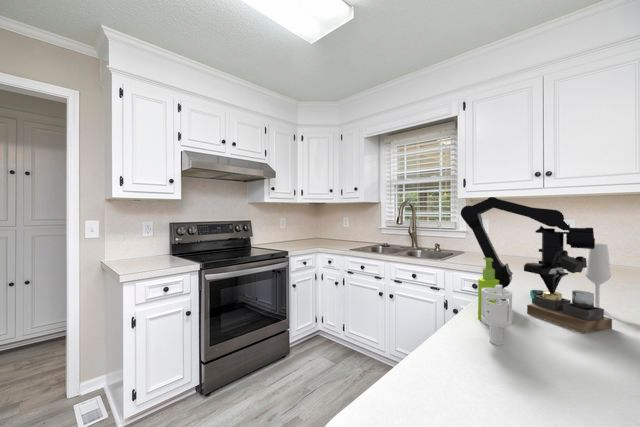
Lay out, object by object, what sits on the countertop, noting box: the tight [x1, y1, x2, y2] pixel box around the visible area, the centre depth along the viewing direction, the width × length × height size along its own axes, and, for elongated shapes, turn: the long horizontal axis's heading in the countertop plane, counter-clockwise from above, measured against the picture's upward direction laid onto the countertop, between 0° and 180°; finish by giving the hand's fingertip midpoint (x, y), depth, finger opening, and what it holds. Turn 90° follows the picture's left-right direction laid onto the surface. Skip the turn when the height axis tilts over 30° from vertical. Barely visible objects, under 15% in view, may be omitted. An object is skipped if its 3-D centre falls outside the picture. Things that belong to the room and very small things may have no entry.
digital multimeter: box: [529, 289, 544, 304], centre depth 115 cm, size 7×15×3 cm, turn 146°
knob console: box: [526, 295, 613, 334], centre depth 94 cm, size 12×17×6 cm
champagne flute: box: [584, 242, 612, 316], centre depth 102 cm, size 7×7×24 cm
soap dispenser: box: [477, 257, 499, 322], centre depth 95 cm, size 6×7×20 cm
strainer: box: [480, 285, 513, 346], centre depth 78 cm, size 7×7×15 cm
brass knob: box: [542, 290, 563, 301], centre depth 98 cm, size 5×5×4 cm
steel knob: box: [571, 289, 595, 308], centre depth 89 cm, size 5×5×4 cm
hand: (552, 292), depth 98 cm, fingers closed, pressing on brass knob
